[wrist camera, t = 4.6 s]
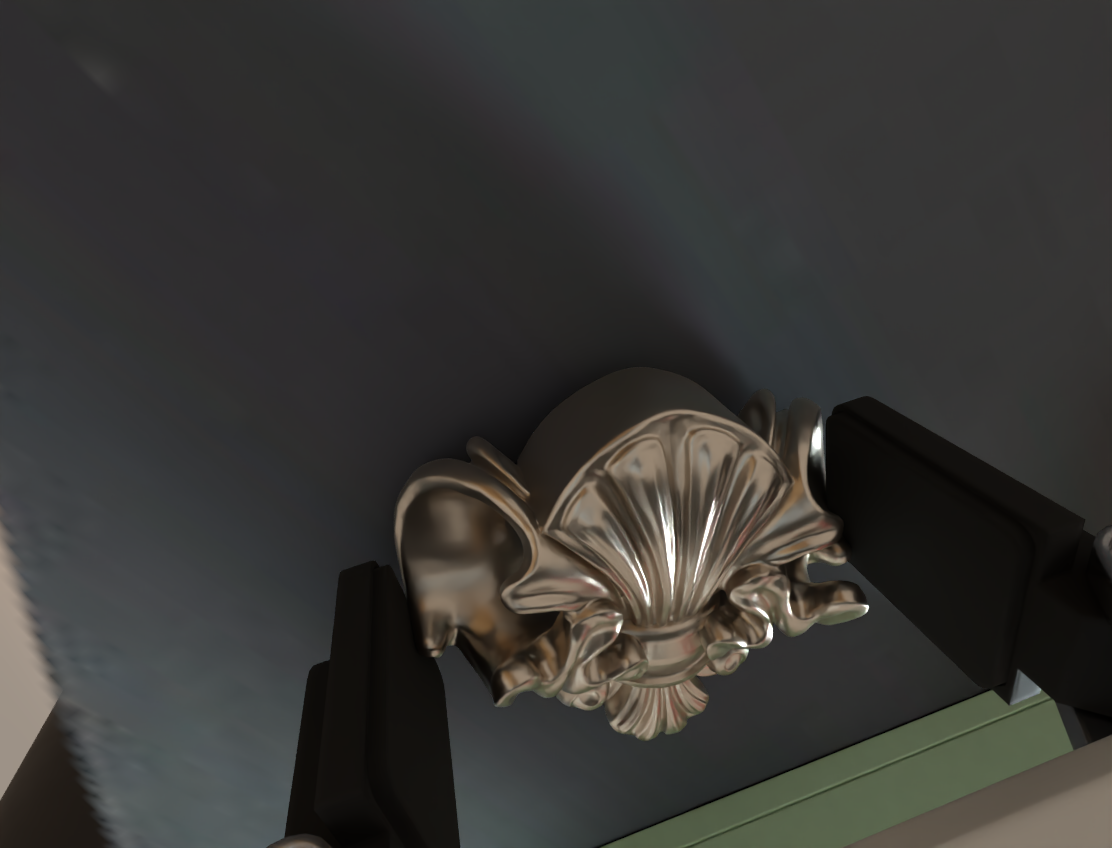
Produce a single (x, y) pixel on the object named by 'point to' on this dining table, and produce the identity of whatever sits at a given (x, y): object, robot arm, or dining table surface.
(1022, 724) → the open storage box
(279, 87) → the dining table surface
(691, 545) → the ornament
